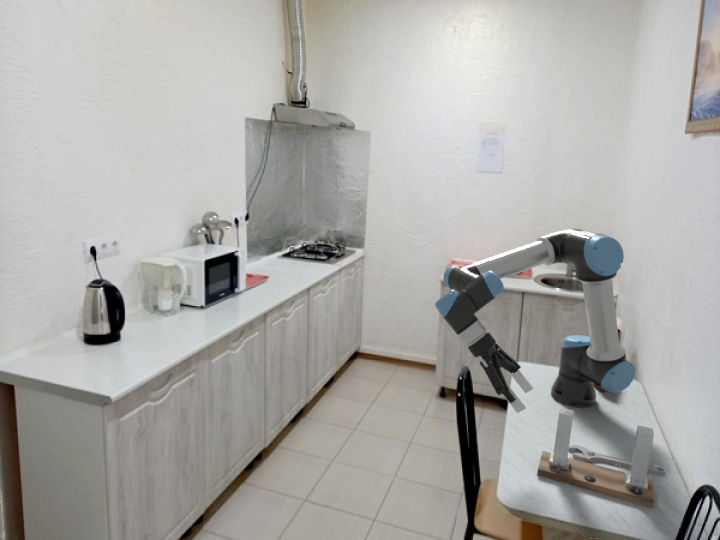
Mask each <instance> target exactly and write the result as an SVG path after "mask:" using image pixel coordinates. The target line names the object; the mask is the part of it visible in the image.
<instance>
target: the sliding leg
mask: <svg viewBox="0 0 720 540" xmlns="http://www.w3.org/2000/svg"><path fill="white" fill-rule="evenodd" d="M574 413H575V410H573V409H569V408H564V407H560V408H559V412H558V418H557V426H556V432H555V440H554V441H555V442H554V447H553V451H551V452H550V453H551V456H550V460H549V466H553V467H556V468H557V470H556V471H559V470H560V469H564V470H568V469H569V463H570V458H571V456H569V455H568V454H569V451H568V450H569V446H570V441H571V435H572V427H573V419H574Z"/></svg>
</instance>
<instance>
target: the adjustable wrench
mask: <svg viewBox="0 0 720 540" xmlns="http://www.w3.org/2000/svg"><path fill="white" fill-rule="evenodd" d="M568 452H573V453H572V459H576V460H579V461H583V462H587V463H592V462H602V463H605V462H607V463H606V464H610V463H612V464H611V465H614V464H617V465H616V466H619V465H621V466H620V467H623V466H625V467H624V468H628V467H629V468H628V469H630V467H631V461H632V459H631V460H630V459H626V458H622V457H616V456H612V455H611V456H610V455H607V454H602V453H599V452H596V451H594V450H590V449H588V448H587V447H584V446H581V445H579V444H578V445H576V444H573V445H569V449H568ZM647 473H650V474H654V475H655V474H656V475H660V476H664V475H665V474H666V469H665V468H664V467H662V466H658V465H654V464H650V463H649V464H648V470H647Z"/></svg>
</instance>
